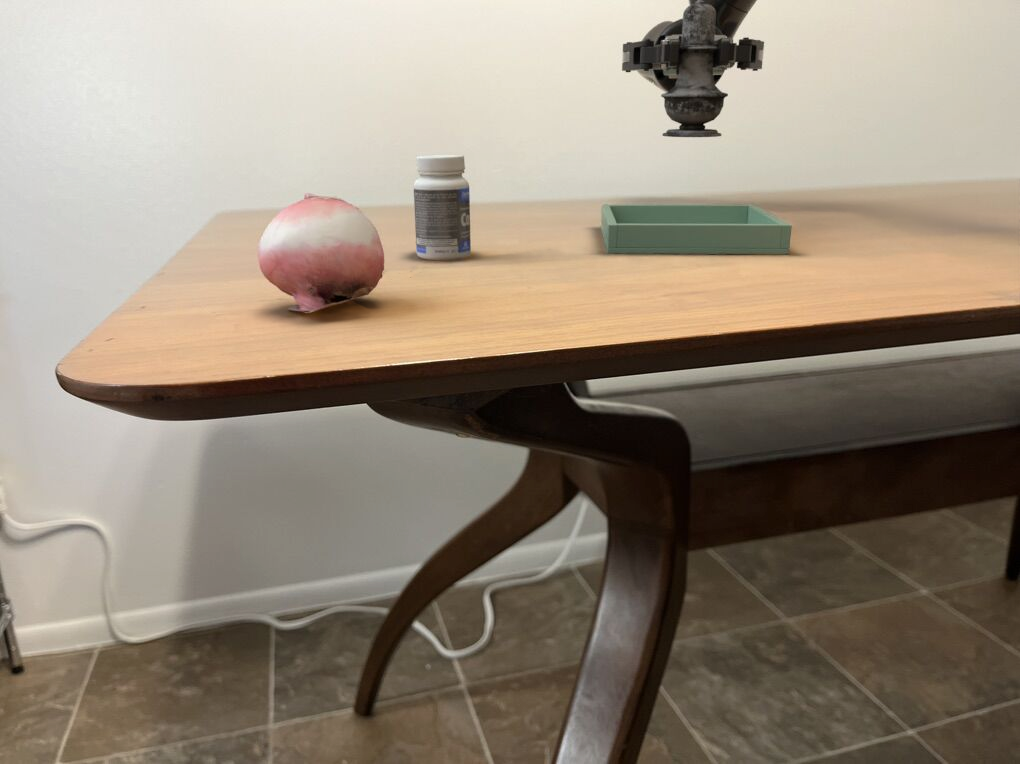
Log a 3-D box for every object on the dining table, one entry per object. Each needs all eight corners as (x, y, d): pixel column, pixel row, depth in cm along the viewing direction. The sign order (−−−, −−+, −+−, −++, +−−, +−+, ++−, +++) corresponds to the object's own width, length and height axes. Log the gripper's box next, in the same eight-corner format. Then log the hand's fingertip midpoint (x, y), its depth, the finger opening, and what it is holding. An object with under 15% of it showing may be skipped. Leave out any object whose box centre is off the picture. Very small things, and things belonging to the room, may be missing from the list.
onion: (403, 297, 56) (398, 190, 53) (361, 326, 48) (353, 203, 46) (295, 292, 57) (285, 188, 55) (239, 319, 50) (225, 201, 48)
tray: (752, 229, 84) (754, 204, 83) (789, 254, 70) (792, 225, 69) (600, 228, 85) (601, 204, 84) (607, 253, 71) (608, 224, 70)
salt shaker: (738, 135, 74) (750, -11, 70) (692, 138, 71) (702, -15, 66) (690, 133, 78) (699, -4, 74) (645, 135, 75) (652, -8, 71)
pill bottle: (474, 259, 69) (472, 156, 66) (418, 262, 68) (413, 157, 65) (467, 250, 73) (465, 153, 70) (414, 252, 72) (410, 154, 70)
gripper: (619, 21, 85) (617, 5, 69) (759, 18, 83) (790, 1, 67) (617, 97, 88) (614, 99, 71) (752, 96, 86) (781, 98, 70)
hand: (699, 52), depth 69 cm, fingers closed on salt shaker, 3 cm apart
